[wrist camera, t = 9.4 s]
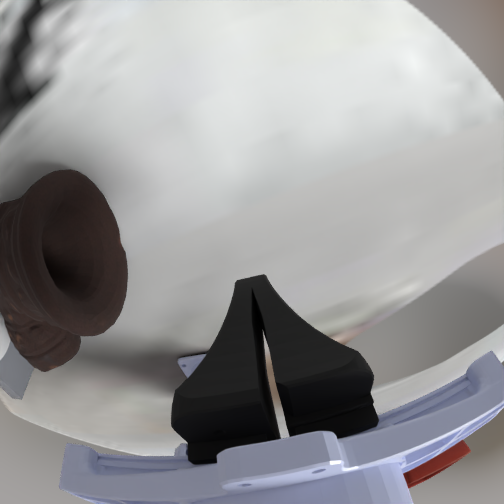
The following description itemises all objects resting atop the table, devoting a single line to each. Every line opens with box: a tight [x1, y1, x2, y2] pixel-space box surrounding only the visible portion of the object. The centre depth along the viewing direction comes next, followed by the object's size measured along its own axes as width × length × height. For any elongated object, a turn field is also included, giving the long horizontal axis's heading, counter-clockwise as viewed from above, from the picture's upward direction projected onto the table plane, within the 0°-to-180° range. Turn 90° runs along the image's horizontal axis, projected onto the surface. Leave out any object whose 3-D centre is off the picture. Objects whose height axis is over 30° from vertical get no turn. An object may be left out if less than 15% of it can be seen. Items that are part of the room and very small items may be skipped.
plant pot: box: [403, 440, 471, 488], centre depth 45 cm, size 19×19×17 cm
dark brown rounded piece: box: [0, 170, 128, 372], centre depth 18 cm, size 10×15×15 cm
